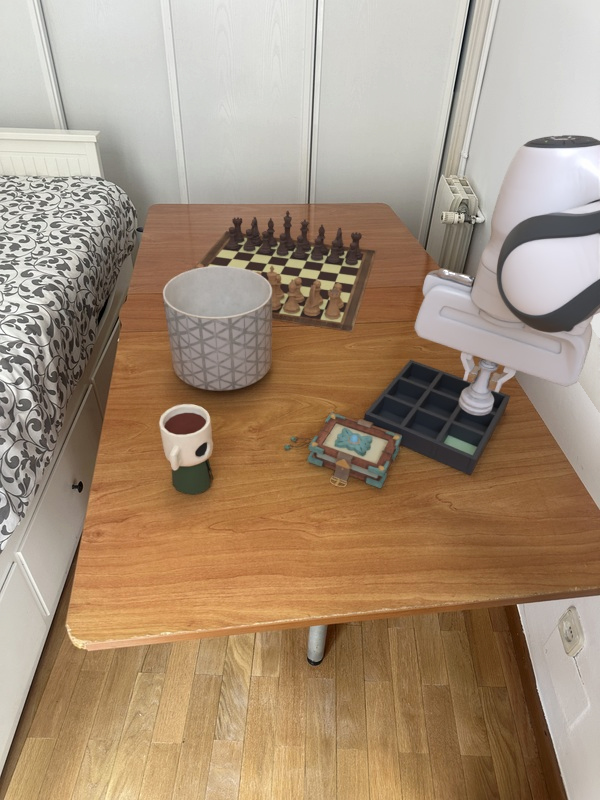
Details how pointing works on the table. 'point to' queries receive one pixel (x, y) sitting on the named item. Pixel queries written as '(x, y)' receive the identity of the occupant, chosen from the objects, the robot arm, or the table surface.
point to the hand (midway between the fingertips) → (482, 384)
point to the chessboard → (300, 272)
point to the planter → (219, 326)
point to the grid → (435, 416)
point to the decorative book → (353, 449)
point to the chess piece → (479, 391)
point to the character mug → (188, 446)
